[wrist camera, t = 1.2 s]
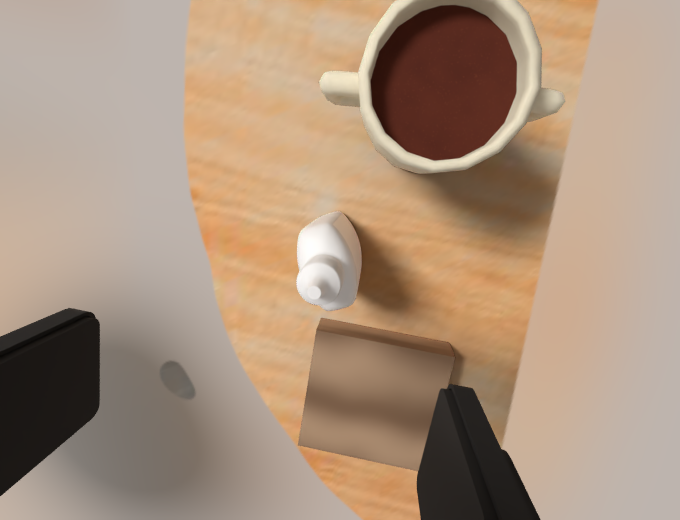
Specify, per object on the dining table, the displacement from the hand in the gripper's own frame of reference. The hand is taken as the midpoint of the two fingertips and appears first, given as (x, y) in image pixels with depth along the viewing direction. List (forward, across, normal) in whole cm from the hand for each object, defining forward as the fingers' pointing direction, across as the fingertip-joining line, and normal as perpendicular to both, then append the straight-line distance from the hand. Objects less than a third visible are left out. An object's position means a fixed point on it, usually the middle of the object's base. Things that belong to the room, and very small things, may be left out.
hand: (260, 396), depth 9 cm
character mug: (+20, -4, -10) cm, 23 cm away
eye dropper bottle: (+20, 0, 0) cm, 20 cm away
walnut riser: (+20, -5, +12) cm, 24 cm away
